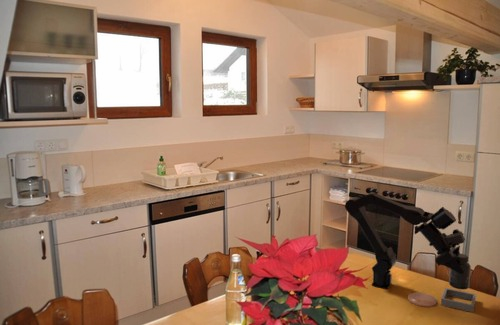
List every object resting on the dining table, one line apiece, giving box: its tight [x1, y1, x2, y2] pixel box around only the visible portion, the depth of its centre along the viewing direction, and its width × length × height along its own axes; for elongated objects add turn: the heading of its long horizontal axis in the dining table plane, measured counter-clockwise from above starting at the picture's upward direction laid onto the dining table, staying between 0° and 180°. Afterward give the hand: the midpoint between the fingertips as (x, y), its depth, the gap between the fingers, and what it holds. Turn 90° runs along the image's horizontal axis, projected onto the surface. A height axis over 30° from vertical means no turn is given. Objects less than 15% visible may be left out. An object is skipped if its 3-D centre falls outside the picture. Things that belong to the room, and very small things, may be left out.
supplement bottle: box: [448, 253, 471, 290], centre depth 154 cm, size 7×7×12 cm
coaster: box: [407, 292, 437, 308], centre depth 158 cm, size 10×10×1 cm
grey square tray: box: [440, 287, 477, 313], centre depth 156 cm, size 11×11×2 cm
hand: (464, 270), depth 154 cm, fingers closed on supplement bottle, 7 cm apart
